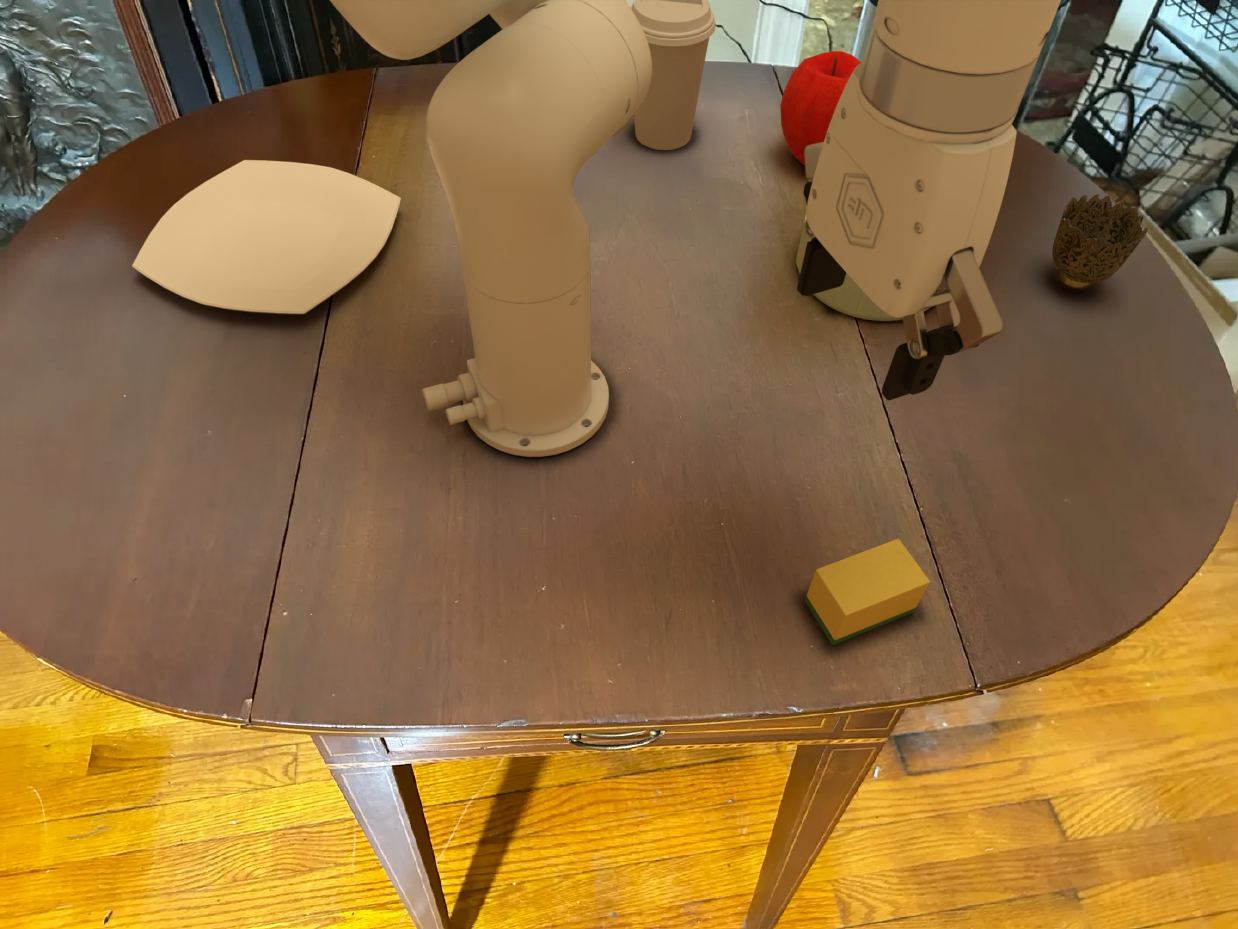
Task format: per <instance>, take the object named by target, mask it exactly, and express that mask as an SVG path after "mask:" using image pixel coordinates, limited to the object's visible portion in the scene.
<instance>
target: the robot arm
mask: <svg viewBox="0 0 1238 929" xmlns="http://www.w3.org/2000/svg"><path fill="white" fill-rule="evenodd" d="M329 2H331V4H332V5H333V6H334V8H335V9H336V10H337V12H338V13H340V15H341V16H342V17H343V18H344V19H345V20H346V21H347V22H348V24H349V25H350V26H351V28H353V29H354V30H355V31H356V33H357V34H358V35H359V36H360V37H361V38H362V39H363V40H364V41H365V42H366V43H367V44H368V45H369V46H370V47H372V48H373V49H374V50H375V51H377V52H379V53H380V54H382V55H383V56H386V57H388V58H392V59H395V60H399V61H400V60H401V61H406V60H407V61H408V60H413V59H416V58H421V57H423V56H425V55H426V54H427V55H428V54H429V53H432V52H433V51H436V50H437V49H439V48H441V47H442V46H444V45H446V44H447V43H450V42H451V41H452V40H454V39H455V38H457V37H458V36H459V35H461V34H462V33H464V32H465V31H467V30H468V29H470V28H471V27H472V26H474V25H475V24H477V23H478V22H480V21H481V20H482V19H484V18H485V17H487V16H488V15H489V16H490V17H491V18H492V19H493V20H494V21H495V22H496V24H497V25H498V26H499V27H500V29H501V30H499V32H496V34H494V35H493V36H491V37H490V38H489V39H487V40H486V41H485V42H483V43H482V44H480V45H479V46H477V47H476V48H475V49H474V50H472V51H471V52H470V53H468V54H467V55H466V56H465V57H463V58H462V59H460V60H459V62H458V63H457V64H455V65H454V67H453V68H451V70H450V71H449V72H448V73H447V74H446V75H445V76H444V77H443V79H442V80H441V82H440V83H439V84H438V85H437V87H436V89H435V91H434V92H433V94H432V97H431V99H430V101H429V104H428V107H427V111H426V117H425V135H426V136H425V137H426V141H427V146H428V149H429V152H430V155H431V159H432V161H433V164H434V166H435V169H436V172H437V174H438V176H439V179H440V181H441V184H442V187H443V189H444V193H445V195H446V198H447V201H448V204H449V208H450V211H451V216H452V219H453V225H454V229H455V233H456V240H457V246H458V253H459V258H460V265H461V271H462V276H463V277H462V278H463V285H464V290H465V297H466V304H467V310H468V311H467V312H468V319H469V325H470V332H471V340H472V347H473V353H474V357H473V358H470V359H467V360H466V366H467V372H465V373H461V374H458V375H457V380H454V381H450V382H446V383H438V384H435V385H431V386H428V387H427V386H426V387H425V388H421V392H422V397H423V400H424V404H425V405H426V408H427V411H428V412H431V411H434V410H436V409H441V408H444V407H447V406H450V404H454V403H457V402H461V401H463V404H462V405H461V404H458V405H455V406H453V407H452V406H451V407H449V408H445V409H444V410H445V414H446V415H445V416H446V418H447V420H448V423H449V425H450V426H452V425H455V424H459V423H462V422H465V421H467V423H468V425H469V427H470V429H471V430H472V431H473V432H474V433H475V435H476V436H477V437H478V438H479V439H480V440H482V441H483V442H484V443H485V444H486V445H488V446H490V447H492V448H494V449H496V450H498V451H500V452H504V453H506V454H510V455H514V456H519V457H520V456H521V457H527V458H533V457H534V458H536V457H537V458H539V457H540V458H542V457H549V456H556V455H559V454H562V453H566V452H568V451H570V450H572V449H575V448H577V447H578V446H581V445H583V444H584V443H585V442H586V441H588V440H590V438H593V436H594V435H595V434H596V433H597V432H598V431H599V429H601V426H602V425H603V423H604V422H605V420H606V418H607V414H608V411H609V406H610V405H609V404H610V391H609V390H610V389H609V384H608V382H607V379H606V376H605V375H604V373H603V372H602V370H601V368H599V366H598V365H597V364H596V363H595V362H594V361H593V360H592V272H591V271H592V265H591V264H592V262H591V235H590V228H589V223H588V219H587V217H586V215H585V213H584V211H583V209H582V208H581V206H580V204H578V202H577V200H576V199H575V195H574V184H575V180H576V177H577V175H578V173H579V172H580V170H581V168H582V167H583V166H584V165H585V164H586V163H587V162H588V161H589V160H590V159H591V158H592V157H593V156H594V155H595V154H596V153H597V152H598V151H599V149H600V148H601V147H603V145H605V144H606V143H607V142H608V141H609V140H610V139H612V137H613V136H614V135H615V134H616V133H617V132H618V131H619V130H621V128H622V127H623V126H624V125H626V124H627V122H628V121H629V120H630V119H631V118H632V117H633V116H634V113H635V112H636V111H637V110H638V109H639V107H640V106H641V105H642V103H643V101H644V100H645V98H646V95H647V93H648V91H649V88H650V83H651V78H652V59H651V53H650V49H649V45H648V42H647V39H646V36H645V34H644V32H643V29H642V27H641V25H640V23H639V21H638V19H637V18H636V16H635V14H634V13H633V11H632V9H631V8H630V7H631V6H630V4H629V3H628V1H627V0H329ZM1061 2H1062V0H878V1H877V5H876V9H875V12H874V15H873V22H872V26H871V31H870V35H869V39H868V43H867V47H866V51H865V54H864V59H863V61H861V62H862V63H860V64H859V65H858V66H857V67H856V68H855V69H854V71H853V73H852V74H851V76H850V78H849V80H848V82H847V84H846V86H845V88H844V90H843V92H842V95H841V97H840V99H839V101H838V104H837V106H836V109H835V111H834V114H833V117H832V119H831V122H830V125H829V128H828V131H827V134H826V137H825V140H824V142H821V143H816V144H812V145H808V146H806V147H805V150H804V157H805V165H804V171H805V178H806V179H807V182H806V183H805V184H804V186H803V197H804V199H805V204H806V209H807V211H806V210H805V213H806V218H807V220H806V221H805V223H804V230H805V234H806V236H807V237H808V238H809V239H811V241H810V242H807V246H806V250H805V255H804V259H803V264H802V268H801V272H800V273H799V277H798V282H797V286H796V290H797V291H798V293H799V294H800V295H801V296H802V297H803V296H804V297H810V296H812V295H813V294H816V293H819V292H823V291H826V290H830V289H833V288H837V287H840V286H841V285H842V284H843V283H844V280H845V276H846V273H847V274H848V275H849V276H850V277H851V278H852V279H853V281H854V282H855V283H856V284H857V285H858V286H859V287H860V288H861V289H862V291H863V292H864V293H865V294H866V295H867V296H868V297H869V298H870V299H871V300H872V301H873V302H874V303H875V304H876V305H877V306H878V307H879V308H880V309H881V310H882V311H884V312H885V313H887V314H889V315H891V316H893V317H896V318H900V317H903V319H902V323H903V329H904V334H905V341H906V342H904V343H900V344H899V345H898V346H897V347H896V349H895V352H894V354H893V357H892V359H891V362H890V365H889V368H888V370H887V373H886V376H885V379H884V381H883V383H882V387H881V394H882V396H883V397H884V398H885V399H886V400H887V401H892V400H895V399H898V398H901V397H904V396H907V395H909V394H910V395H913V396H914V395H918V394H921V393H924V392H925V391H927V390H928V389H929V388H931V387H932V385H933V384H934V382H935V379H936V377H937V375H938V372H939V370H940V367H941V365H942V363H943V361H944V358H945V356H952V355H956V354H958V353H961V352H964V351H968V350H971V349H973V348H977V347H979V346H980V345H981V344H983V343H985V342H986V341H988V340H989V339H991V338H993V337H995V336H996V335H998V334H1000V333H1001V332H1003V327H1004V322H1003V320H1002V317H1001V315H1000V312H999V309H998V308H997V306H996V303H995V301H994V299H993V297H992V294H991V292H990V289H989V287H988V285H987V283H986V281H985V279H984V276H983V274H982V270H981V269H980V267H981V264H982V262H983V259H984V257H985V254H986V251H987V249H988V246H989V244H990V241H991V238H992V235H993V232H994V229H995V225H996V222H997V220H998V216H999V214H1000V210H1001V207H1002V203H1003V201H1004V200H1003V199H1004V195H1005V192H1006V187H1007V184H1008V180H1009V176H1010V171H1011V166H1012V162H1013V157H1014V152H1015V147H1016V146H1015V145H1016V141H1017V134H1018V131H1017V130H1016V128H1015V127H1014V125H1013V122H1014V120H1015V118H1016V116H1017V114H1018V112H1019V107H1020V105H1021V103H1022V100H1023V98H1024V96H1025V93H1026V91H1027V88H1028V85H1029V83H1030V80H1031V77H1032V75H1033V73H1034V70H1035V68H1036V65H1037V62H1038V59H1039V58H1040V56H1041V53H1042V49H1043V47H1044V44H1045V42H1046V40H1047V37H1048V35H1049V32H1050V30H1051V27H1052V25H1053V22H1054V20H1055V16H1056V14H1057V12H1058V8H1059V6H1060V4H1061ZM813 296H814V295H813ZM933 307H935V310H936V315H937V322H938V327H937V328H934V329H933V328H932V329H930V330H927V324H926V319H925V311H923V309H927V308H929V309H930V308H933ZM927 310H928V309H927Z"/></svg>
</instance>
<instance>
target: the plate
mask: <svg viewBox="0 0 1238 929" xmlns="http://www.w3.org/2000/svg"><path fill="white" fill-rule="evenodd" d="M401 200H402V198H401V197H400V196H398V195H396V194H394V193H393V192H391V191H389V190H387V189H385V188H383V187H381V186H379V185H377V184H375V183H373V182H371V181H369V180H367V179H364V178H362V177H359V176H357V175H354V174H353V173H350V172H346V171H344V170H341V169H338V168H335V167H334V168H333V167H330V166H325V165H319V164H312V163H302V162H294V161H278V160H261V159H260V160H259V159H244V160H242V161H239V162H238V163H236V164H235V165H232V166H231V167H229V168H227V169H225V170H223V171H222V172H220V173H218V174H217V175H214V176H213V177H211V178H210V179H208V180H206V181H204V182H203V183H201V184H200V185H198V186H197V187H194V189H192V190H191V191H189V192H187V193H186V194H185V195H183V197H181V198H180V199H179V200H178V201H177V202H175V203H174V204H173V205H172V206H171V207H170V208H169V209H168V210H167V211H166V212H165V213H164V215H162V216H161V217H160V219H159V221H158V222H156V224H155V225H154V227H153V228H152V230H151V231H150V232H149V233H148V236H147V238H146V239H145V241H144V243H143V245H142V247H141V248H140V250H139V252H138V253H137V255H136V257H135V259H134V262H133V263H132V265H131V267H132V268H133V269H134V270H136V271H137V272H138V273H140V274H142V275H143V276H144V277H146V278H147V279H149V280H150V281H152V282H154V283H155V284H157V285H159V286H161V287H162V288H164V289H165V290H167V291H169V292H171V293H173V294H175V295H177V296H178V297H179V296H180V297H182V298H183V299H185V300H189V301H192V302H194V303H197V304H200V305H202V306H206V307H210V308H216V309H220V310H227V311H228V310H229V311H236V312H245V313H252V314H253V313H254V314H269V315H289V316H290V315H294V316H305V315H306V314H308V313H309V312H311V311H312V310H314V309H315V308H317V307H318V306H320V305H321V304H323V303H325V302H326V301H327V300H328V299H330V298H332V297H333V296H334V295H336V294H337V293H338V292H340V291H341V290H343V289H344V288H346V287H347V286H348V285H349V284H351V283H352V282H353V281H354V280H355V279H357V277H359V276H360V275H361V274H363V272H364V271H365V270H366V269H367V268H368V267H370V265H371V264H372V263H374V261H375V260H376V258H377V257H378V256H379V254H380V252H382V250H383V248H384V247H385V245H386V243H387V241H388V238H389V237H390V235H391V232H392V231H393V227H394V224H395V222H396V218H397V215H398V211H399V208H400V203H401Z"/></svg>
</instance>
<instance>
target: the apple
mask: <svg viewBox="0 0 1238 929" xmlns="http://www.w3.org/2000/svg"><path fill="white" fill-rule="evenodd" d="M862 62H863V61H861V60H860V59H858V58H857V57H856V56H855V55H853V54H850V53H848V52H845V51H843V50H833V51H832V50H831V51H827V52H822V53H818V54H816V55H813V56H810V57H806V58H804V59H803V60H802V61H801V63H799V65H797V67H796V68H795V69H794V70H793V71H792V72H791V74H790V76H789V79H788V81H787V83H786V85H785V88H784V90H783V92H782V98H781V101H780V105H779V106H780V124H781V130H782V134H783V137H784V140H785V142H786V144H787V147H788V149H789V150H790V152H791V154H792V155H793V156H794V158H795V159H796V160H797V161H798V162H799V163H800V164H802V165H803V166H805V157H804V150H805V147H806V146H808V145H812V144H816V143H821V142H824V140H825V137H826V134H827V131H828V128H829V125H830V122H831V119H832V117H833V114H834V111H835V109H836V106H837V104H838V101H839V99H840V97H841V95H842V92H843V90H844V88H845V86H846V84H847V82H848V80H849V78H850V76H851V74H852V73H853V71H854V69H855V68H856V67H857V66H858V65H859V64H860V63H862Z"/></svg>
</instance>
